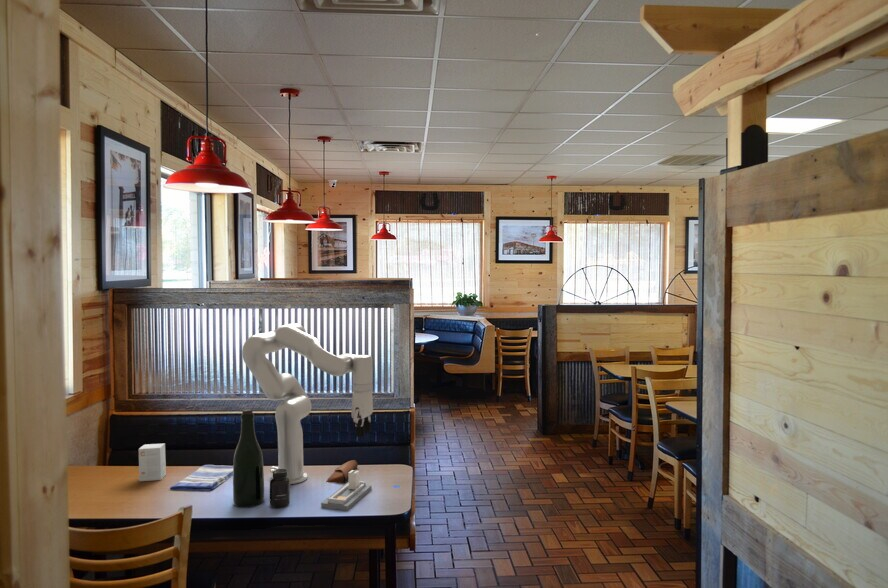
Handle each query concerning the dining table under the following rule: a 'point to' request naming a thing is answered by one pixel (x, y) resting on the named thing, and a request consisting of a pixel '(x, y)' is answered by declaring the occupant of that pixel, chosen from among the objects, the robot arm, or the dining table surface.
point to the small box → (152, 462)
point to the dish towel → (205, 478)
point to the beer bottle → (248, 465)
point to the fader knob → (353, 479)
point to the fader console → (346, 497)
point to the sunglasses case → (342, 472)
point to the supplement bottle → (279, 489)
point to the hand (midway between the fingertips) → (363, 434)
